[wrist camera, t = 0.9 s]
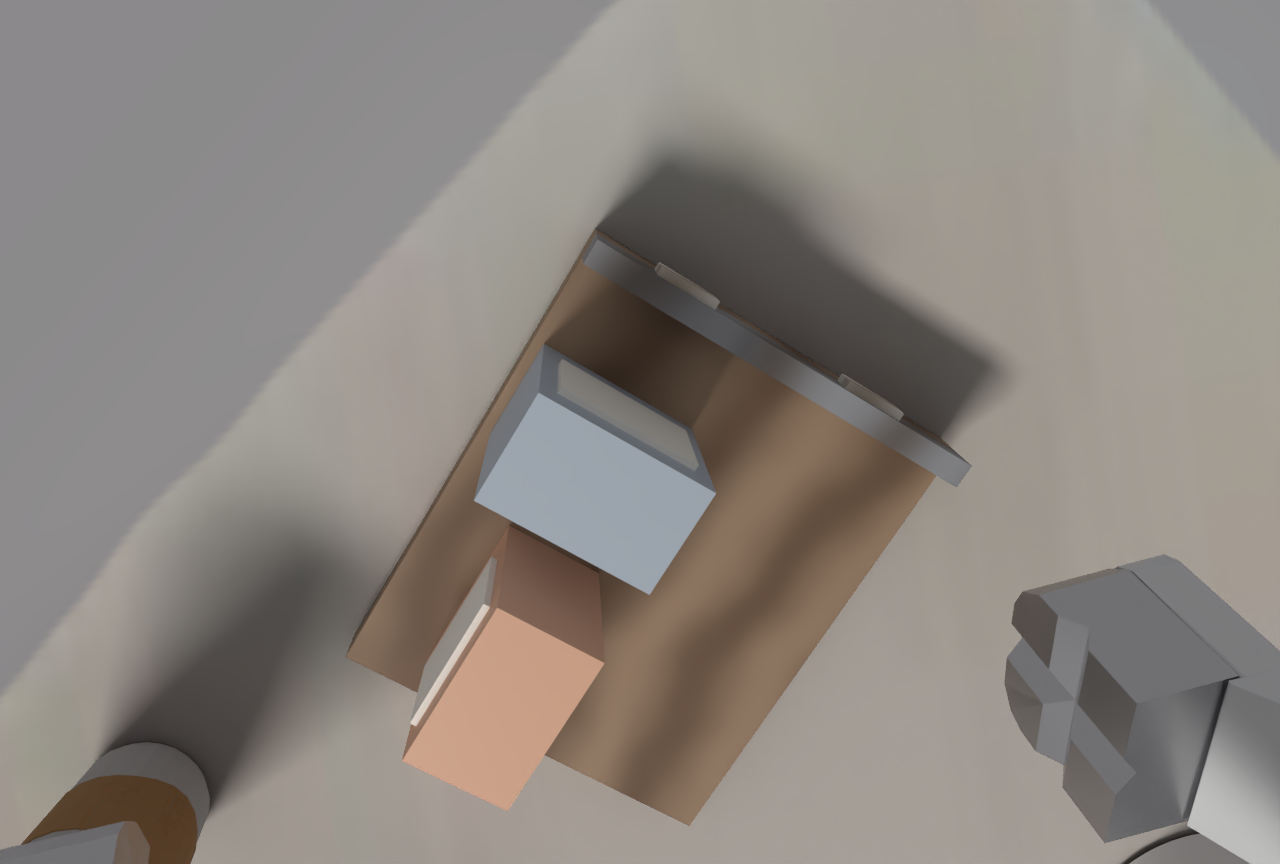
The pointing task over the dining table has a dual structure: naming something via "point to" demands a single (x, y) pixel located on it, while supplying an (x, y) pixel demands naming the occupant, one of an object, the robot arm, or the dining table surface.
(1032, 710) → the robot arm
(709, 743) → the shelf plank
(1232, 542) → the dining table surface
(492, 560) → the terracotta carton
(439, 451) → the dining table surface
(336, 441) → the dining table surface
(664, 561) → the slate-blue carton
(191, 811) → the coffee cup
